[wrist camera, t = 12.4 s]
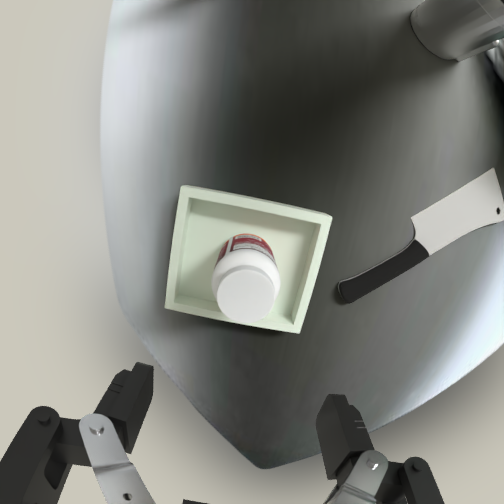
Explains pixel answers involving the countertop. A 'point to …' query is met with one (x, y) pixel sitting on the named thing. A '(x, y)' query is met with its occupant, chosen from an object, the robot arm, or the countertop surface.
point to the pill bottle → (245, 278)
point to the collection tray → (238, 222)
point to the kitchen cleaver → (434, 232)
